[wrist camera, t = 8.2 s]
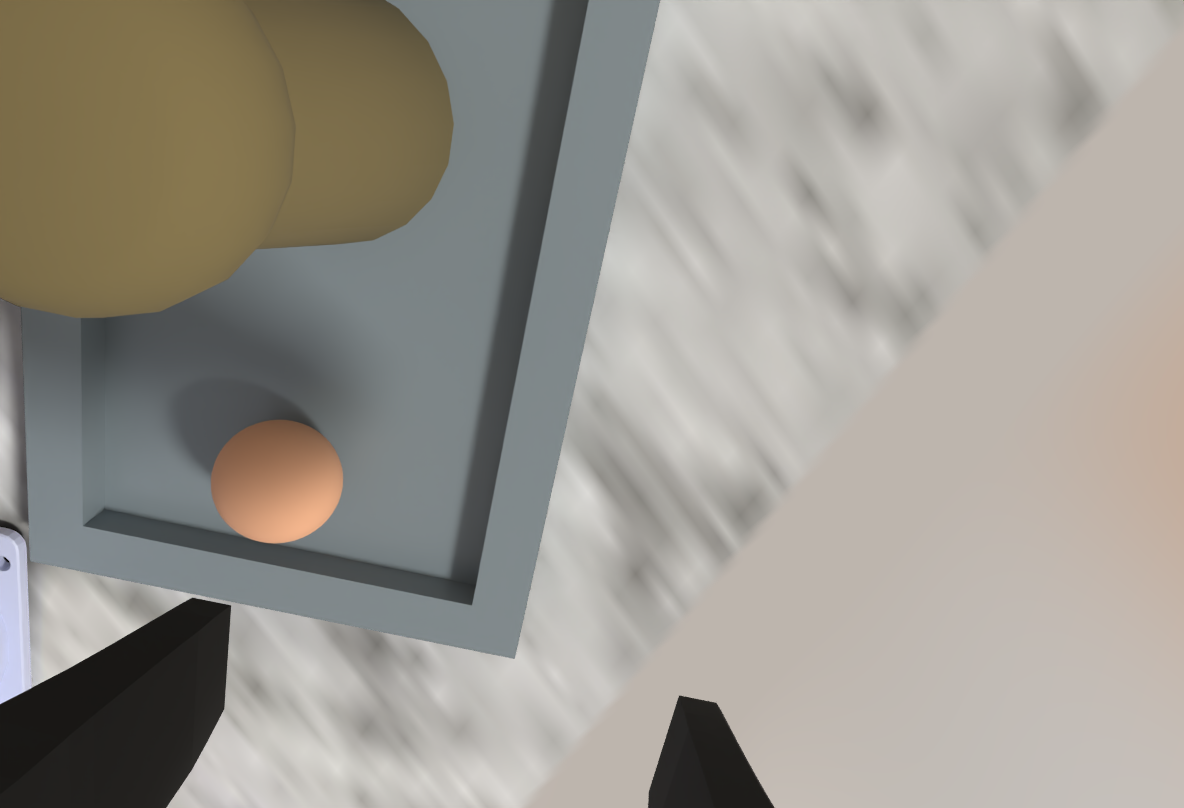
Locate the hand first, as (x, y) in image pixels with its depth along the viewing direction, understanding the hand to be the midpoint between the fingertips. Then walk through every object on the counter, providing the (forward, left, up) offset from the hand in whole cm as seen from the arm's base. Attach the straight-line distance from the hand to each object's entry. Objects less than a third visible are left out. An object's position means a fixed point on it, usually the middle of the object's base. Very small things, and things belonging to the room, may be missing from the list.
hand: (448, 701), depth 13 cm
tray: (+4, +6, -10) cm, 13 cm away
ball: (-2, +6, -10) cm, 12 cm away
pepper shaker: (+8, +6, -10) cm, 14 cm away
